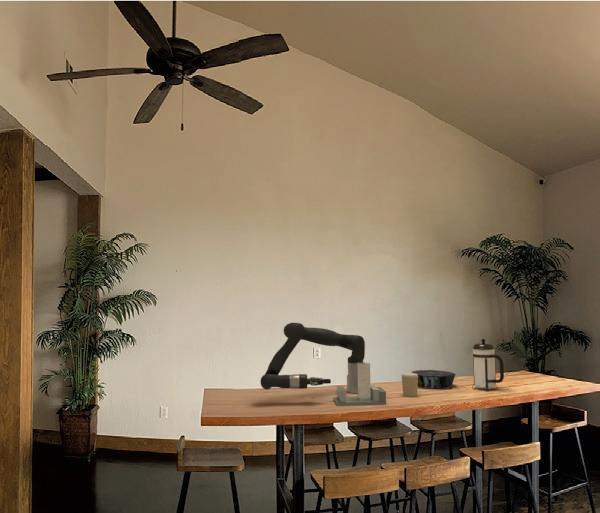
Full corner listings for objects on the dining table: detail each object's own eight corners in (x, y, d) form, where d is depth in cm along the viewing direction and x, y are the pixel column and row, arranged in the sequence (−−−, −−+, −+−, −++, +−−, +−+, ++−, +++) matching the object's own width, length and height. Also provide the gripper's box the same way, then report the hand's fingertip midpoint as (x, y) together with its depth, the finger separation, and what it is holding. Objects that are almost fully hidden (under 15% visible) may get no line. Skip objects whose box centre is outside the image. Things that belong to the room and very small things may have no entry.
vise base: (336, 405, 269) (336, 391, 270) (333, 399, 284) (332, 385, 285) (386, 404, 271) (386, 389, 272) (380, 398, 286) (379, 384, 287)
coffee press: (473, 391, 304) (471, 339, 307) (470, 386, 320) (469, 337, 322) (504, 392, 300) (502, 340, 302) (500, 387, 316) (499, 337, 318)
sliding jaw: (340, 401, 271) (340, 390, 271) (337, 397, 284) (336, 386, 284) (346, 401, 271) (345, 390, 271) (342, 396, 284) (342, 386, 284)
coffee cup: (419, 394, 297) (418, 373, 298) (418, 397, 288) (417, 375, 289) (402, 393, 300) (402, 372, 301) (401, 396, 291) (400, 375, 292)
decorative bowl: (426, 394, 308) (426, 377, 308) (403, 383, 334) (403, 367, 334) (463, 391, 316) (463, 374, 316) (437, 380, 342) (437, 365, 342)
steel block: (359, 400, 276) (358, 363, 277) (358, 398, 280) (357, 362, 281) (370, 399, 276) (370, 363, 277) (369, 398, 280) (368, 362, 282)
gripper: (298, 376, 270) (332, 375, 271) (297, 372, 283) (329, 372, 284) (298, 390, 270) (332, 390, 271) (297, 386, 283) (329, 386, 284)
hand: (330, 381), depth 277 cm, fingers closed
